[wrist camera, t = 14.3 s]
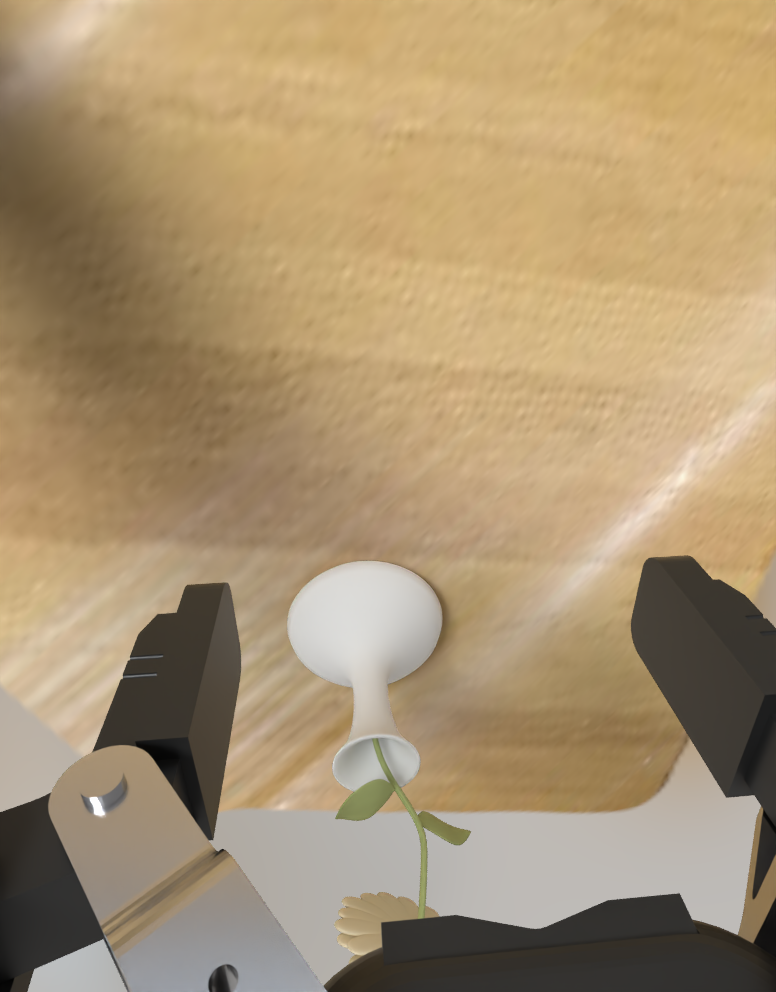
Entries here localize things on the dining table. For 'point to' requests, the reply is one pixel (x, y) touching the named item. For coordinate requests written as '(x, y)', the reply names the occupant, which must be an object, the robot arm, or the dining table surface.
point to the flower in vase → (371, 707)
